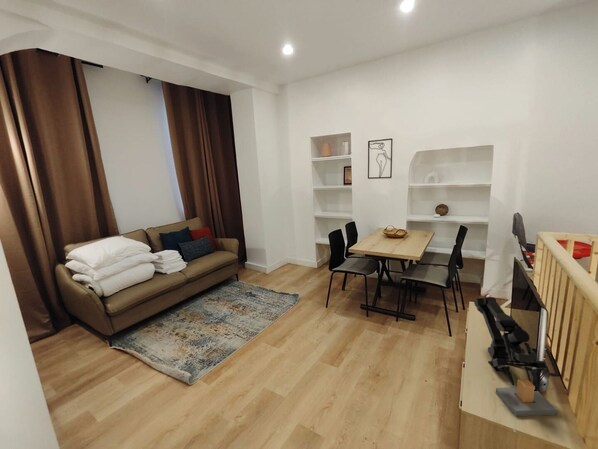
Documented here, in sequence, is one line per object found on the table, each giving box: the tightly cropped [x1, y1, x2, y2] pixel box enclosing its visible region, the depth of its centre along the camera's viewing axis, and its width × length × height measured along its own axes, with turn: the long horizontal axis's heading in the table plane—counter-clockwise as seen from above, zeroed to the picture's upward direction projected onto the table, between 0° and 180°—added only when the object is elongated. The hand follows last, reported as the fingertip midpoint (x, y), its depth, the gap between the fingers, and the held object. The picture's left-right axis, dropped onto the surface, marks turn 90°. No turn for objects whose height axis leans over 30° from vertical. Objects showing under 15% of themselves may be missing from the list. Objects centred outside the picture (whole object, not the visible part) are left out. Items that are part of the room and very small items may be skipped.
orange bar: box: [516, 378, 536, 403], centre depth 117 cm, size 4×4×10 cm
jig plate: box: [495, 386, 558, 417], centre depth 117 cm, size 12×16×2 cm
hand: (525, 386), depth 116 cm, fingers open, 9 cm apart
